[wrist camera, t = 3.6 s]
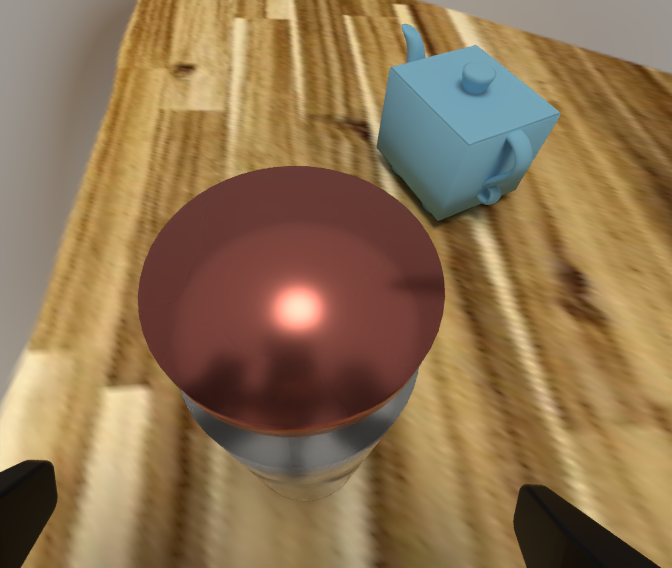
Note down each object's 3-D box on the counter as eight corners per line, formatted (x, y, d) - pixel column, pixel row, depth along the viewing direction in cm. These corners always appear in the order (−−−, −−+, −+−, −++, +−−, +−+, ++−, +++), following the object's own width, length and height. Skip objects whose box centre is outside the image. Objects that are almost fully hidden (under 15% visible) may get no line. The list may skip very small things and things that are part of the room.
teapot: (351, 129, 29) (362, 16, 22) (419, 108, 31) (448, -2, 24) (448, 249, 24) (498, 146, 17) (524, 216, 25) (596, 111, 19)
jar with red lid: (362, 503, 16) (482, 454, 5) (241, 497, 16) (65, 433, 5) (363, 384, 19) (440, 167, 7) (258, 378, 19) (172, 150, 7)
